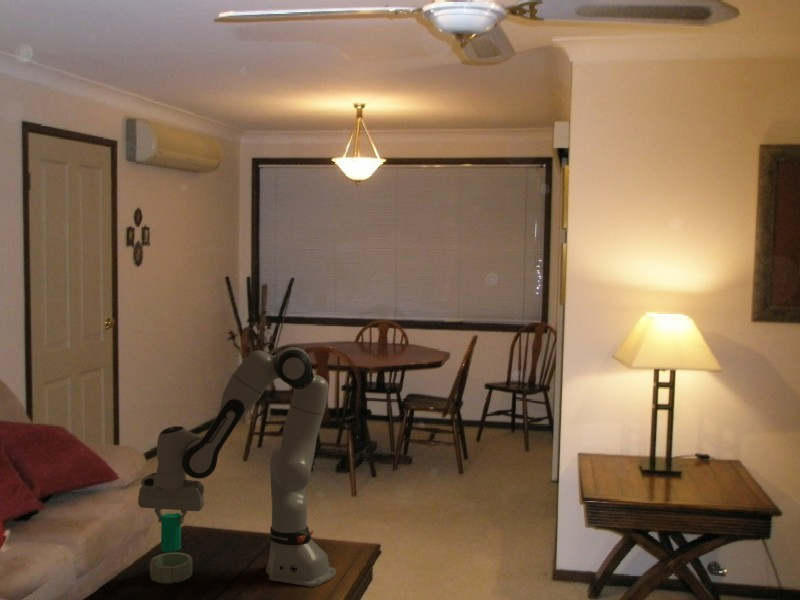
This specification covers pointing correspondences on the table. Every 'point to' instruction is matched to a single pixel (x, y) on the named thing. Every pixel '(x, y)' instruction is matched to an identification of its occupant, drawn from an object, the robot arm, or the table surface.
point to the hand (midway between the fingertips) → (171, 522)
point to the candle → (170, 532)
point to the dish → (171, 567)
